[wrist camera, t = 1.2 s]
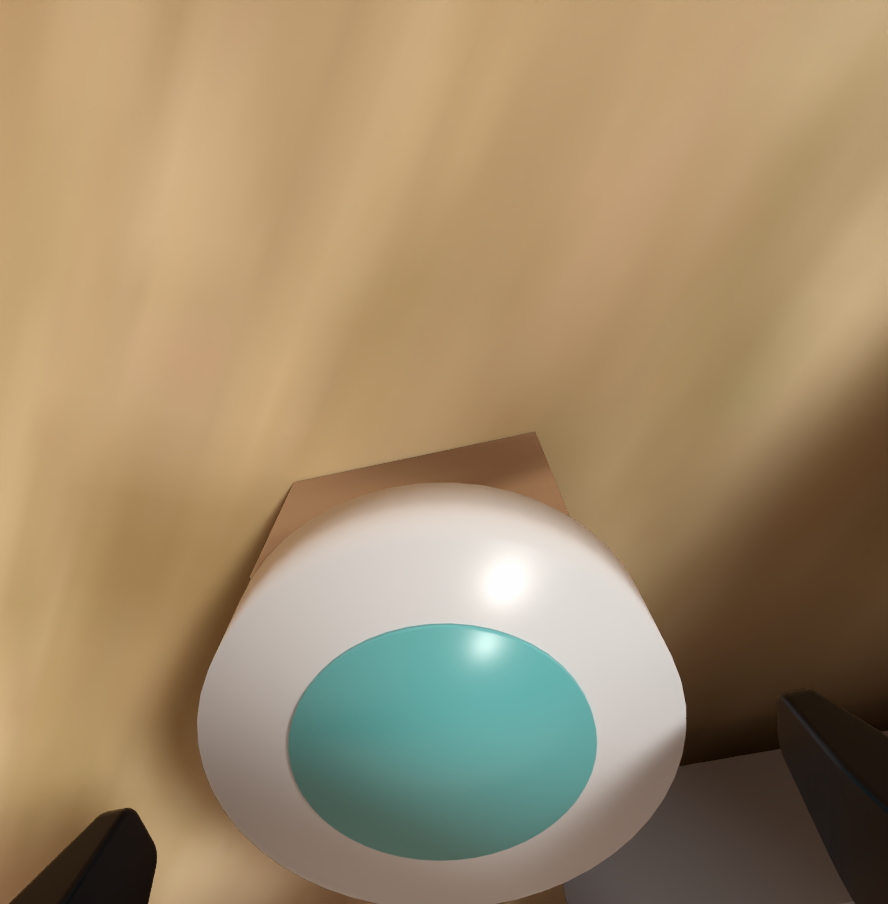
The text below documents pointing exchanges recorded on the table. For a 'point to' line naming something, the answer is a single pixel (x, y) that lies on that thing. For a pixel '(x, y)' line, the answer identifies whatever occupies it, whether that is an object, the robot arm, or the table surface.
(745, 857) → the tray
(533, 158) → the table surface
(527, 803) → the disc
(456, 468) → the block
